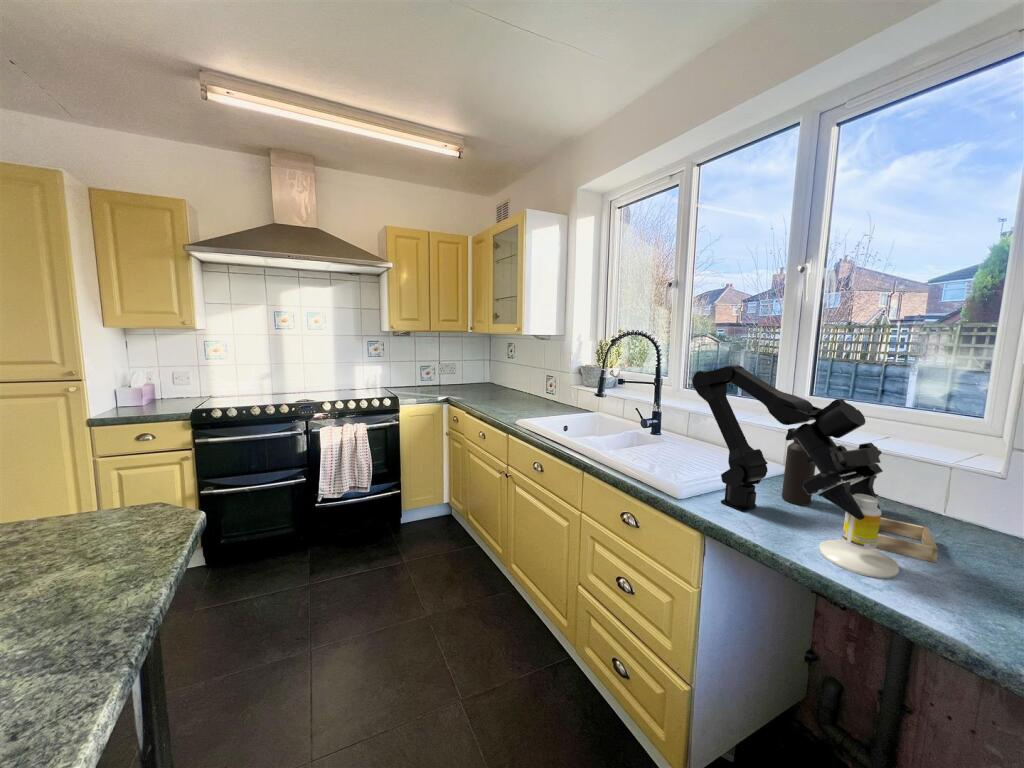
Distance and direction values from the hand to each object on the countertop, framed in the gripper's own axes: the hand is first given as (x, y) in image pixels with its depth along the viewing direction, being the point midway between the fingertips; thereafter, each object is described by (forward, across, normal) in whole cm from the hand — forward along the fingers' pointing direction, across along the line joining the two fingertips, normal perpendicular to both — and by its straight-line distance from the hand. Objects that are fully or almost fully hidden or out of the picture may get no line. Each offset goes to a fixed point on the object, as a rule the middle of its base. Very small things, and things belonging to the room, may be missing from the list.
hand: (870, 516), depth 86 cm
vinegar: (-10, +18, +25) cm, 32 cm away
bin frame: (+6, +16, +8) cm, 19 cm away
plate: (+6, 0, +8) cm, 10 cm away
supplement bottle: (+4, 0, +6) cm, 7 cm away
